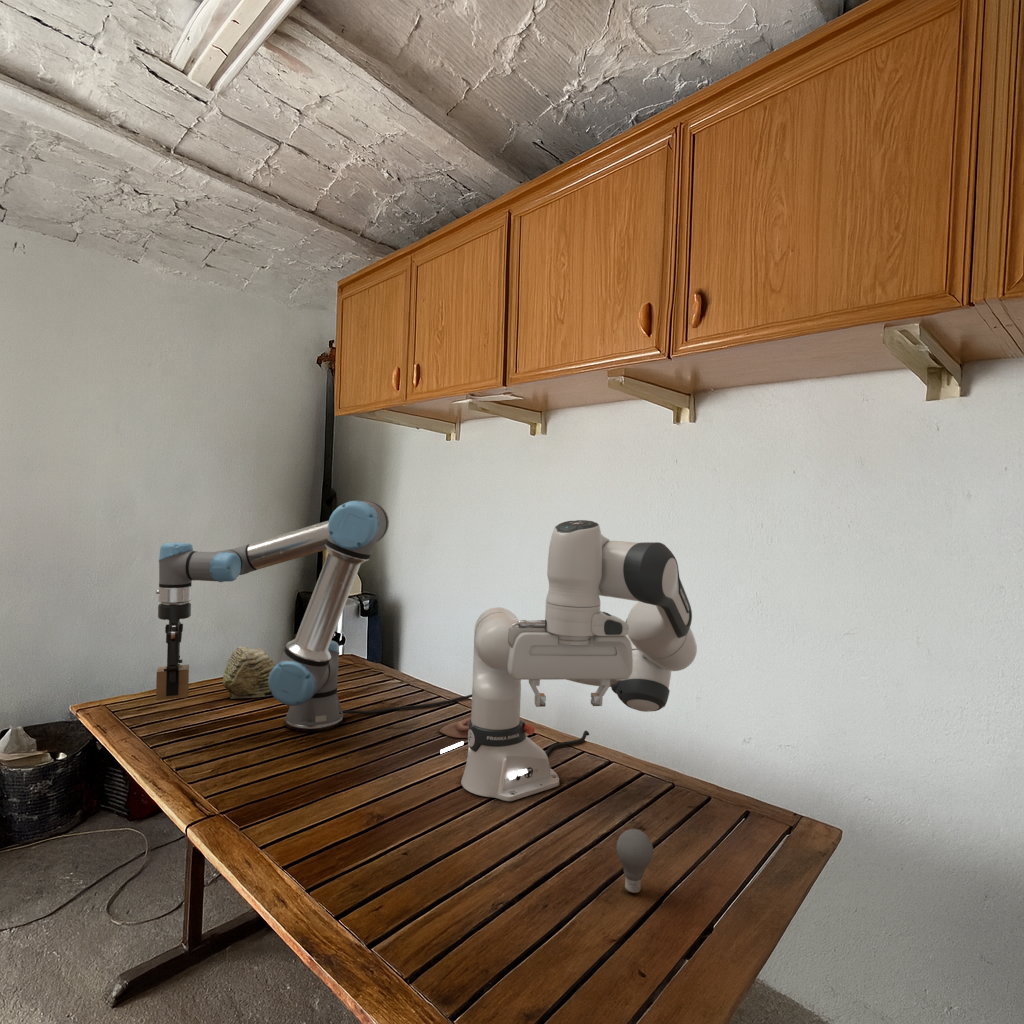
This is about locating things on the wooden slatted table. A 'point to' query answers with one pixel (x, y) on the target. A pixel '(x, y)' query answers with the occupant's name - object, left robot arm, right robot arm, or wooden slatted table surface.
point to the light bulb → (634, 857)
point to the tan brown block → (162, 680)
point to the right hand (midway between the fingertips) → (568, 705)
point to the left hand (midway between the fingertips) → (172, 692)
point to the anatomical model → (457, 729)
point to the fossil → (248, 673)
